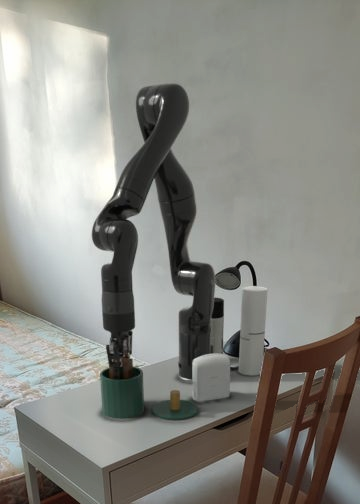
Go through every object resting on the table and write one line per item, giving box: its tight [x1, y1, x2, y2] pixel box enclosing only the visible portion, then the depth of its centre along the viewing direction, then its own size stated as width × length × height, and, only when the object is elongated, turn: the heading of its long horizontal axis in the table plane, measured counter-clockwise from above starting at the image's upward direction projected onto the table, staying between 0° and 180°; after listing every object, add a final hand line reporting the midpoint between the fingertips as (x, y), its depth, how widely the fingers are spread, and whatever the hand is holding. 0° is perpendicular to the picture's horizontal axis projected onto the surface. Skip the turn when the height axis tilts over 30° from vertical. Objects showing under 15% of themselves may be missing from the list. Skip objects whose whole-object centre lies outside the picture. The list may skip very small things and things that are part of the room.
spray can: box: [211, 297, 225, 354], centre depth 165 cm, size 7×7×20 cm
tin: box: [99, 366, 145, 420], centre depth 132 cm, size 10×10×10 cm
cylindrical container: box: [238, 285, 268, 376], centre depth 156 cm, size 7×7×25 cm
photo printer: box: [191, 353, 231, 402], centre depth 139 cm, size 10×4×12 cm, turn 109°
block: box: [108, 357, 134, 380], centre depth 129 cm, size 5×5×5 cm
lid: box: [152, 389, 199, 421], centre depth 132 cm, size 11×11×6 cm
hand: (121, 377), depth 130 cm, fingers closed on block, 4 cm apart
